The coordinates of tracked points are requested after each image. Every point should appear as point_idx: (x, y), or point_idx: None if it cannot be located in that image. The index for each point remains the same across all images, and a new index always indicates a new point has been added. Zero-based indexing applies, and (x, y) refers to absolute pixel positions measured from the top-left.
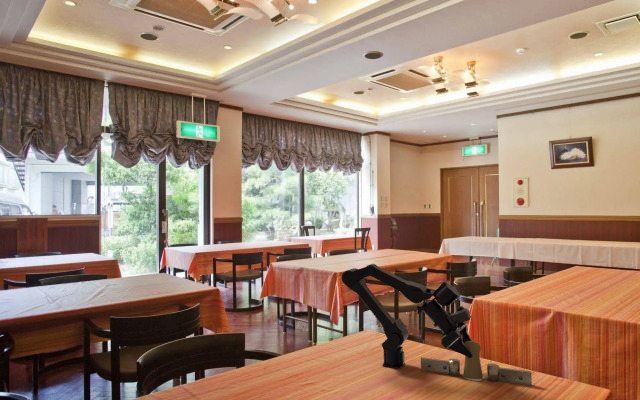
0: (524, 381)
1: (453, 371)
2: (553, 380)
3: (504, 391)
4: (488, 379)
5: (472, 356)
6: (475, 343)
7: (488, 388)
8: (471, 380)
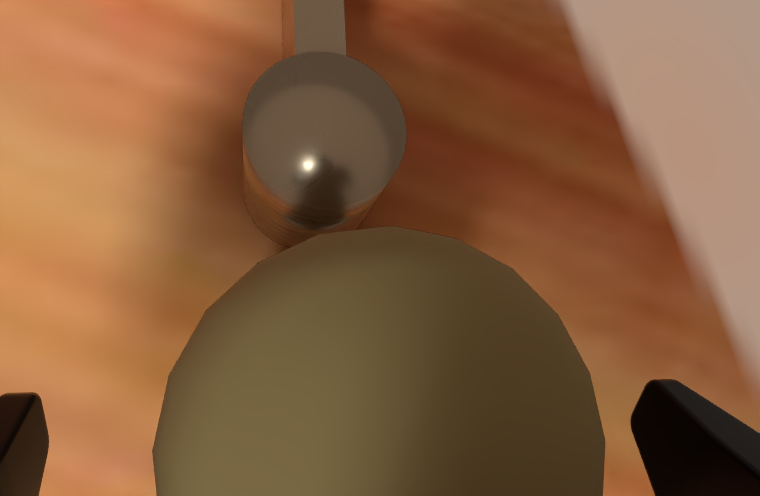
0: None
1: None
2: None
3: (551, 94)
4: None
5: (669, 382)
6: (497, 330)
7: (553, 228)
8: None
